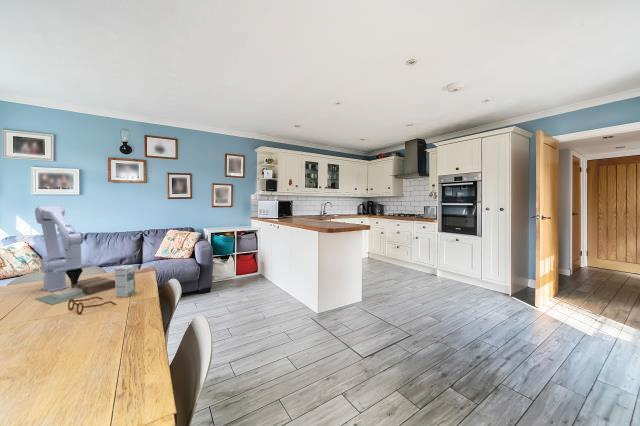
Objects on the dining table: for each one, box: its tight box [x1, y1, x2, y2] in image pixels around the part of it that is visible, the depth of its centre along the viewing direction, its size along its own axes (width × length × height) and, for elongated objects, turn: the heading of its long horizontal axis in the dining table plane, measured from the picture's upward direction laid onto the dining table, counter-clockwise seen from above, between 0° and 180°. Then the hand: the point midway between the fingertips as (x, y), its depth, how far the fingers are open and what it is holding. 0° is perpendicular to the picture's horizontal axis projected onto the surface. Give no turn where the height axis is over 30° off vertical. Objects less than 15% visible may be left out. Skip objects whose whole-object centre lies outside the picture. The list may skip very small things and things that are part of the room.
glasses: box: [67, 296, 117, 315], centre depth 115 cm, size 13×13×5 cm
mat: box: [34, 293, 88, 306], centre depth 125 cm, size 16×13×1 cm
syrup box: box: [114, 264, 136, 298], centre depth 129 cm, size 6×6×14 cm
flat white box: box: [52, 287, 83, 299], centre depth 128 cm, size 6×9×2 cm, turn 157°
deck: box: [70, 276, 116, 296], centre depth 137 cm, size 16×12×4 cm
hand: (74, 284), depth 130 cm, fingers closed
